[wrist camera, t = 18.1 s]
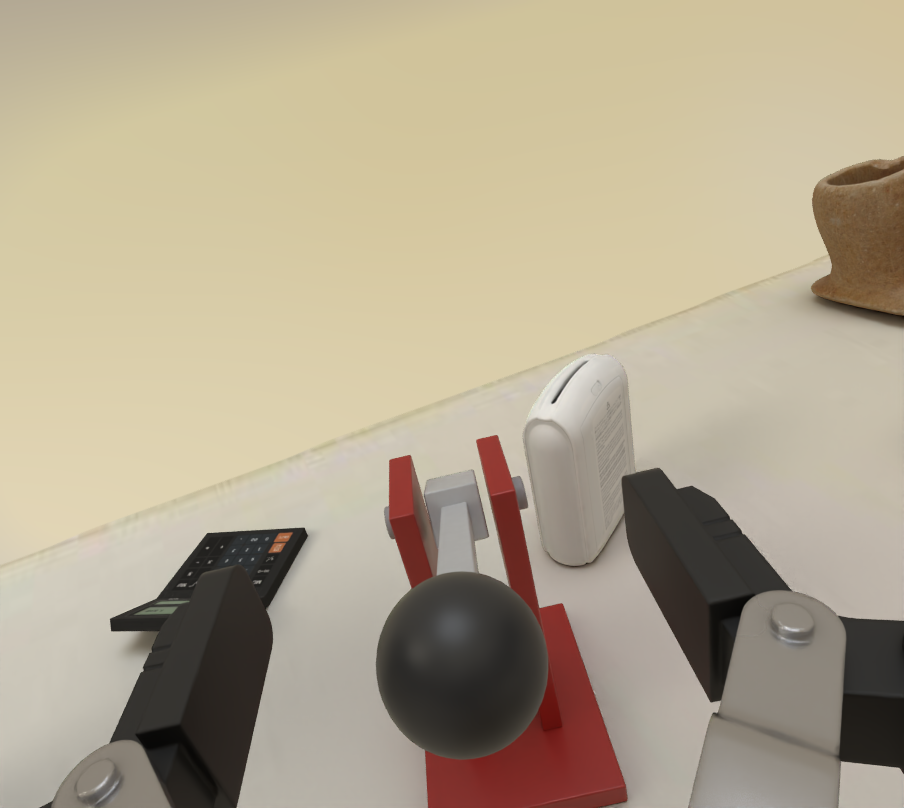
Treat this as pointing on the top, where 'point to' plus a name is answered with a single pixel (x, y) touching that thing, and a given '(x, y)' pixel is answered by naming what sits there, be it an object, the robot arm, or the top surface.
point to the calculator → (253, 550)
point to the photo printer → (580, 457)
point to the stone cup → (863, 235)
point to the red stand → (568, 687)
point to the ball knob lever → (461, 642)
